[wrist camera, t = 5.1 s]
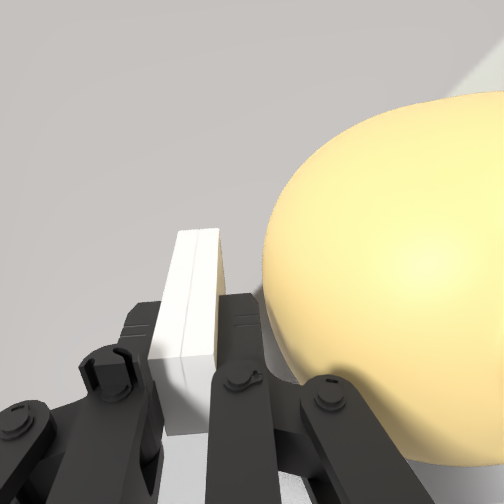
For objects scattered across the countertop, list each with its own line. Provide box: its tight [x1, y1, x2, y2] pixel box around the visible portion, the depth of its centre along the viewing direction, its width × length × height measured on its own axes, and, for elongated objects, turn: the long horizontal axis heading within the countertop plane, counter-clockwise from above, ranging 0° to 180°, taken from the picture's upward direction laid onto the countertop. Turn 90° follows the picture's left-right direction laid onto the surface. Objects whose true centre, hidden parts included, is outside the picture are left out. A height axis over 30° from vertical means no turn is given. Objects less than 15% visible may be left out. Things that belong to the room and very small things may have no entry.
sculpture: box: [262, 91, 504, 467], centre depth 13 cm, size 11×12×11 cm
